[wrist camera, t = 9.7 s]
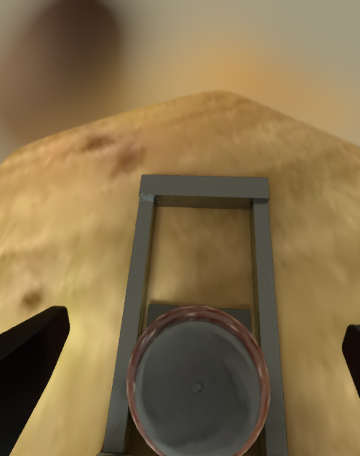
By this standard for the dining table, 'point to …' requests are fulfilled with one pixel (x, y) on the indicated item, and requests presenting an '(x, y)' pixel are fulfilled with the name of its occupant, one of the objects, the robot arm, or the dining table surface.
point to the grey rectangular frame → (263, 301)
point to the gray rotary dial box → (110, 454)
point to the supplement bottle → (198, 384)
